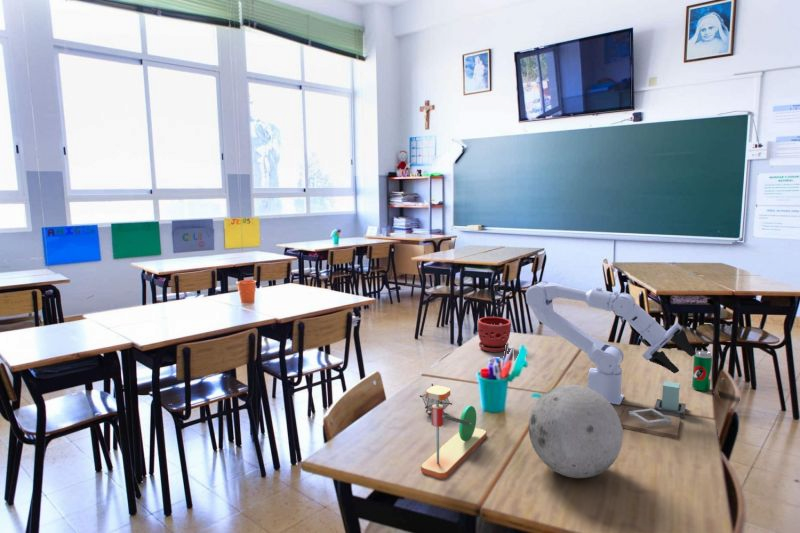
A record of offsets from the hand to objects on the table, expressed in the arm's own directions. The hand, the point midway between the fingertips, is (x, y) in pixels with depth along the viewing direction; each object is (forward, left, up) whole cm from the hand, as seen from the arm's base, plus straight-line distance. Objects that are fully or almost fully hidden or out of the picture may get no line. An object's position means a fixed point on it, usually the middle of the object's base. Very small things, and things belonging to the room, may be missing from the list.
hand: (685, 363), depth 147 cm
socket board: (-7, -12, -15) cm, 20 cm away
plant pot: (-69, +32, -15) cm, 77 cm away
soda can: (+4, +23, -15) cm, 27 cm away
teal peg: (-3, 0, -15) cm, 15 cm away
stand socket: (-3, 0, -15) cm, 15 cm away
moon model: (-19, -47, -15) cm, 53 cm away
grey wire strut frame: (-61, -34, -15) cm, 72 cm away
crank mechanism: (-46, -52, -15) cm, 71 cm away
